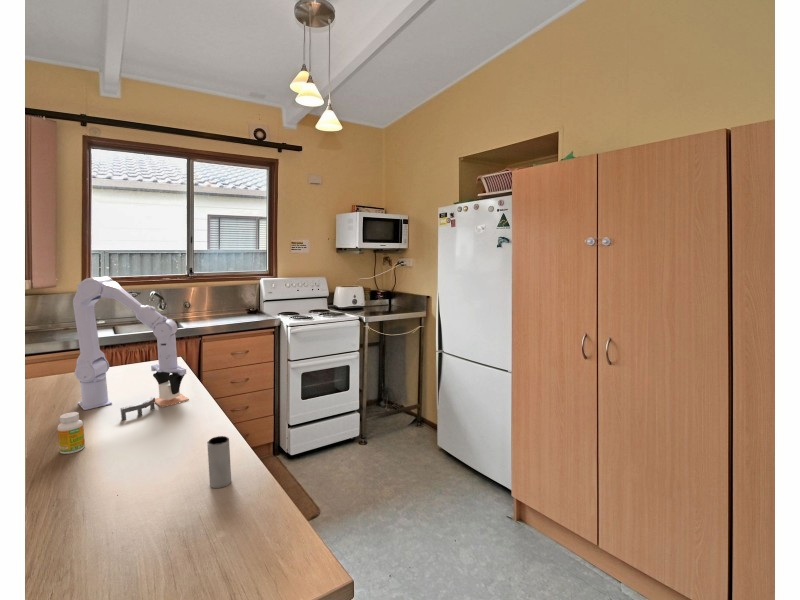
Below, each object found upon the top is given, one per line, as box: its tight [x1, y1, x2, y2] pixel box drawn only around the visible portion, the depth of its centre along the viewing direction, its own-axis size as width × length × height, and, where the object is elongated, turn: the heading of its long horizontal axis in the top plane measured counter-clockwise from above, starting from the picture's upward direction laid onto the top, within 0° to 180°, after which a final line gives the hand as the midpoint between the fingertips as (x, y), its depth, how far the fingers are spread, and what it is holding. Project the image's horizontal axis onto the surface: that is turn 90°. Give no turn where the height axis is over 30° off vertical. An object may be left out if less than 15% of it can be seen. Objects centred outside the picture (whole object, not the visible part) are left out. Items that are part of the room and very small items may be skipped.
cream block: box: [158, 381, 181, 400], centre depth 148 cm, size 4×4×5 cm
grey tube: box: [207, 435, 232, 489], centre depth 96 cm, size 4×4×10 cm
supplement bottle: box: [57, 411, 86, 455], centre depth 112 cm, size 5×5×10 cm
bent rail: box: [119, 397, 156, 421], centre depth 137 cm, size 5×10×4 cm, turn 137°
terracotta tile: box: [154, 393, 190, 408], centre depth 149 cm, size 9×9×1 cm
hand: (170, 392), depth 149 cm, fingers closed on cream block, 4 cm apart
